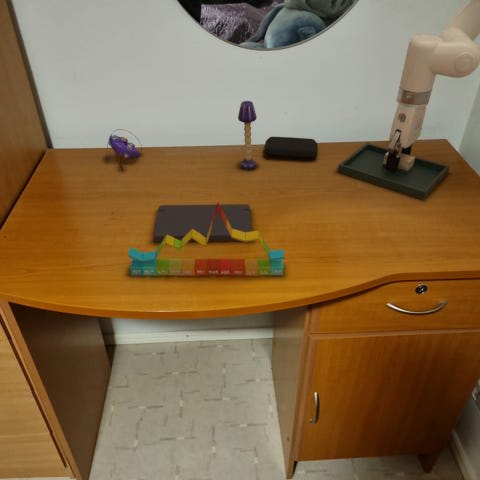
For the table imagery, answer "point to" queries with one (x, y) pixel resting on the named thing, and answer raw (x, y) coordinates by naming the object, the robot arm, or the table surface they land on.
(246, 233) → the chart
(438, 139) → the table surface
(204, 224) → the notebook
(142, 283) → the table surface
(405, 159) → the wooden block
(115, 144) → the purple ringed ornament
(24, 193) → the table surface
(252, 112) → the toy lamp
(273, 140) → the carrying case
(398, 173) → the tray
